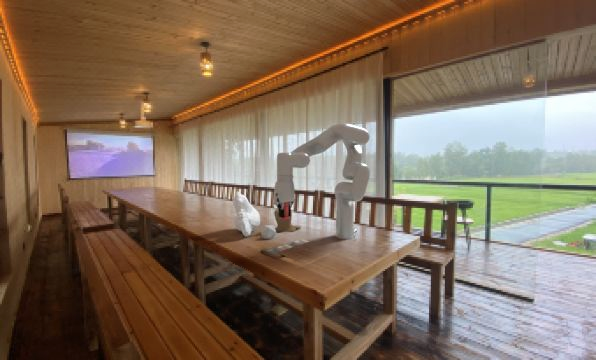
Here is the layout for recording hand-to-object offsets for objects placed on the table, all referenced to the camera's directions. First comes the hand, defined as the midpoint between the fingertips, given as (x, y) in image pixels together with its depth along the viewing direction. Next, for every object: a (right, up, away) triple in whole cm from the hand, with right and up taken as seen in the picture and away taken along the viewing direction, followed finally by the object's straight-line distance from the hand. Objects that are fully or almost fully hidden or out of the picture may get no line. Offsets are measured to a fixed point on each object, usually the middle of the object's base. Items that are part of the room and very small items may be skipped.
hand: (284, 216), depth 128 cm
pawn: (0, -1, 0) cm, 1 cm away
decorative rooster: (-25, -14, +30) cm, 42 cm away
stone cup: (-1, -14, +32) cm, 35 cm away
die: (-10, -15, +17) cm, 25 cm away
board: (+2, -16, +4) cm, 17 cm away
